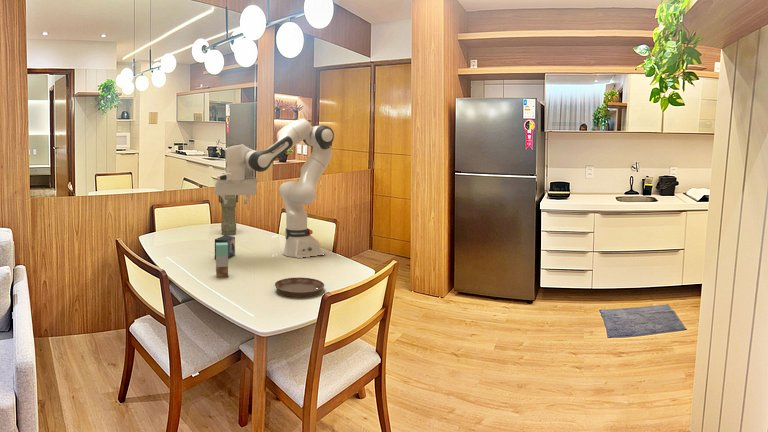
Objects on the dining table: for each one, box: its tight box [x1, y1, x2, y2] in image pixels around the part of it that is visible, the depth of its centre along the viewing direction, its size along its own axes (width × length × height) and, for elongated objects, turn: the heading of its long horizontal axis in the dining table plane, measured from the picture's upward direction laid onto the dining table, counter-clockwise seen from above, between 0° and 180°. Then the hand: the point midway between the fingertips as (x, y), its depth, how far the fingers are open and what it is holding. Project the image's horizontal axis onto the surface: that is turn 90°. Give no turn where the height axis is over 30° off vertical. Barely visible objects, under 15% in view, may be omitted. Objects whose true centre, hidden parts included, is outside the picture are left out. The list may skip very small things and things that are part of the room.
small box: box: [214, 235, 236, 260], centre depth 266 cm, size 11×6×10 cm, turn 169°
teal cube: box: [216, 242, 228, 256], centre depth 232 cm, size 5×5×5 cm
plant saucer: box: [274, 277, 325, 298], centre depth 218 cm, size 21×21×3 cm
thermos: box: [217, 195, 239, 236], centre depth 319 cm, size 9×12×35 cm
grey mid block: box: [215, 256, 229, 268], centre depth 233 cm, size 5×5×5 cm
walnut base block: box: [215, 266, 229, 279], centre depth 234 cm, size 5×5×5 cm
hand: (235, 204), depth 256 cm, fingers open, 8 cm apart
